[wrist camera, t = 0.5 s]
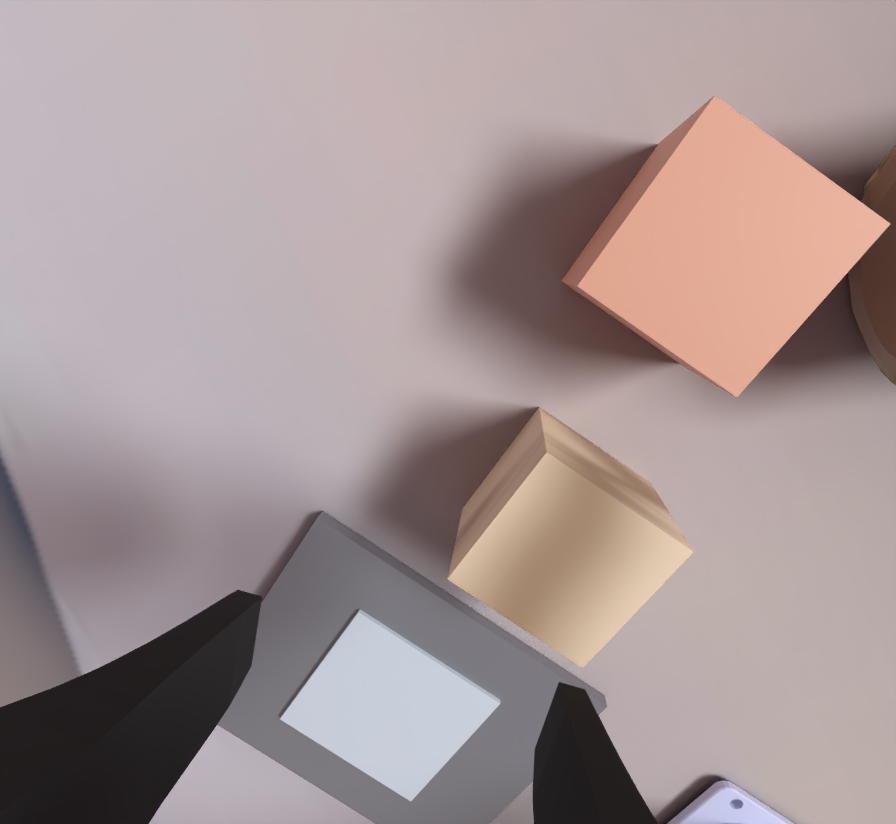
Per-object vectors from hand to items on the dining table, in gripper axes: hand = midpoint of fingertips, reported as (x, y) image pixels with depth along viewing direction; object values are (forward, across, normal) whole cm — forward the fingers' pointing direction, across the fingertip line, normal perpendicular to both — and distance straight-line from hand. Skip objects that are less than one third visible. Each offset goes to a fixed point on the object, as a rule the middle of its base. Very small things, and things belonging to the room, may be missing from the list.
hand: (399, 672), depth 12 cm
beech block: (+9, -4, -2) cm, 10 cm away
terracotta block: (+9, -5, -11) cm, 15 cm away
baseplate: (+9, 0, +10) cm, 13 cm away
